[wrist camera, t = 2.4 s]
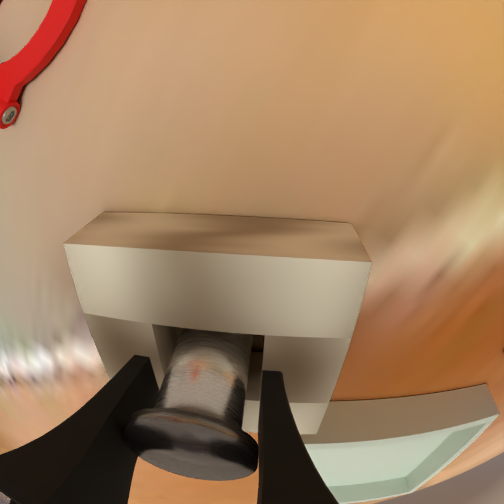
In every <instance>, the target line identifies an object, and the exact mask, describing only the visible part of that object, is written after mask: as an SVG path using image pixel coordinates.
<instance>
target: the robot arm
mask: <svg viewBox="0 0 504 504" xmlns="http://www.w3.org/2000/svg"><path fill="white" fill-rule="evenodd" d="M158 393H159V387H158V384H157V381H156V377H155V374H154V371H153V368H152V364H151V361H150V357H146V356H140V355H134V356H133V357H132V358H131V359H130V360H129V361H128V362H127V363H126V364H125V365H124V366H123V367H122V368H121V369H120V370H119V371H118V372H117V373H116V375H115V376H114V377H113V378H112V379H111V380H110V381H109V382H108V383H107V384H106V385H105V386H104V387H103V388H102V389H101V390H100V391H99V392H98V393H97V394H96V395H95V396H94V397H92V398H91V399H90V400H89V401H88V402H87V403H86V404H85V405H84V406H82V407H81V408H80V409H79V410H78V411H77V412H75V413H74V414H73V415H72V416H70V417H69V418H68V419H67V420H65V421H64V422H63V423H61V424H60V425H58V426H57V427H55V428H54V429H52V430H51V431H49V432H48V433H46V434H44V435H43V436H41V437H39V438H37V439H35V440H33V441H31V442H29V443H28V444H26V445H24V446H21V447H19V448H17V449H14V450H12V451H9V452H6V453H4V454H1V455H0V492H2V493H3V494H4V495H6V496H7V497H9V498H10V499H11V500H10V501H9V500H8V499H7V497H5V496H4V495H3V494H1V493H0V504H128V498H129V492H130V486H131V481H132V477H133V472H134V468H135V464H136V461H137V457H138V456H137V455H136V454H135V453H134V452H132V451H131V450H130V449H129V448H128V446H127V445H126V443H125V442H124V439H123V434H124V431H125V428H126V426H127V423H128V421H129V418H130V416H131V415H132V414H133V413H135V412H136V411H139V410H142V409H147V408H153V407H154V405H155V402H156V399H157V396H158ZM258 447H259V454H258V456H259V488H258V499H257V504H339V503H338V502H337V500H336V499H335V497H334V496H333V494H332V493H331V491H330V490H329V488H328V487H327V486H326V484H325V482H324V481H323V479H322V477H321V476H320V474H319V472H318V471H317V469H316V467H315V465H314V463H313V461H312V459H311V457H310V455H309V453H308V451H307V449H306V447H305V445H304V443H303V440H302V438H301V436H300V433H299V431H298V428H297V426H296V423H295V420H294V417H293V414H292V412H291V408H290V405H289V402H288V398H287V394H286V390H285V385H284V380H283V373H282V372H280V371H268V370H263V371H262V383H261V395H260V407H259V420H258Z"/></svg>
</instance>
